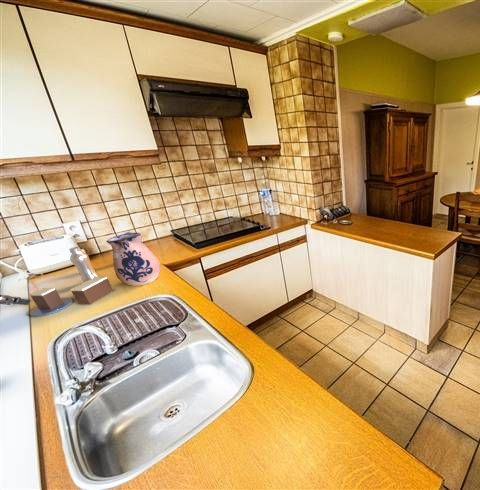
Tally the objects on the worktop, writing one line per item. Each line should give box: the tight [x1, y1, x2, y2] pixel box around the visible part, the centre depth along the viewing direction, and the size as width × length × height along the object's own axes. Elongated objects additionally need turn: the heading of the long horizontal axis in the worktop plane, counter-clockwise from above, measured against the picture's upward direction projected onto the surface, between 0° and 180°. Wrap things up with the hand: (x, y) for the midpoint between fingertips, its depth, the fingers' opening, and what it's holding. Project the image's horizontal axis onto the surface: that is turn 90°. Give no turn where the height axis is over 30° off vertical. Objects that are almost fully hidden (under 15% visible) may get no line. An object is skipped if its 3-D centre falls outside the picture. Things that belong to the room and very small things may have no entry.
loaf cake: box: [69, 276, 114, 305], centre depth 124 cm, size 11×6×8 cm, turn 175°
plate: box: [29, 297, 74, 318], centre depth 119 cm, size 13×13×1 cm
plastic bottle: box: [68, 246, 101, 283], centre depth 135 cm, size 6×7×20 cm
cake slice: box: [29, 287, 64, 310], centre depth 117 cm, size 5×6×8 cm
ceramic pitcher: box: [106, 231, 162, 287], centre depth 134 cm, size 18×21×25 cm
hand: (20, 302), depth 109 cm, fingers open, 8 cm apart
